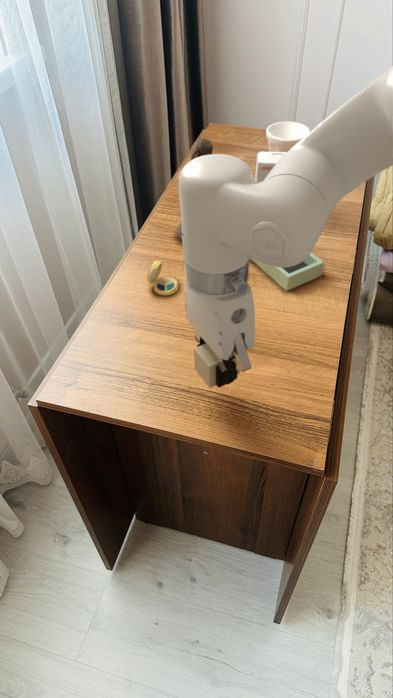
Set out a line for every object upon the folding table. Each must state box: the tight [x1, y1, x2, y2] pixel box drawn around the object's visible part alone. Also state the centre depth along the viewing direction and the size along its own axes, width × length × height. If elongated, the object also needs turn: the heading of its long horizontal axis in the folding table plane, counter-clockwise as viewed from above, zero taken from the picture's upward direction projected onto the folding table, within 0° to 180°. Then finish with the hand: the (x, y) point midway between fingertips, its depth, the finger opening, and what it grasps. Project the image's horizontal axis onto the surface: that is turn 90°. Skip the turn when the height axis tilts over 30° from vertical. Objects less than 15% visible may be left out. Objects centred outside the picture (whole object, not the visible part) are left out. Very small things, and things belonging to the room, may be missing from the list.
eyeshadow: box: [146, 260, 179, 296], centre depth 89 cm, size 4×5×5 cm
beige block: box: [193, 343, 241, 389], centre depth 69 cm, size 4×5×4 cm
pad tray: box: [250, 252, 325, 292], centre depth 94 cm, size 8×15×3 cm, turn 31°
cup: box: [265, 120, 312, 152], centre depth 116 cm, size 10×10×9 cm
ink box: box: [254, 150, 287, 184], centre depth 103 cm, size 9×5×12 cm, turn 84°
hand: (217, 370), depth 70 cm, fingers closed on beige block, 4 cm apart
